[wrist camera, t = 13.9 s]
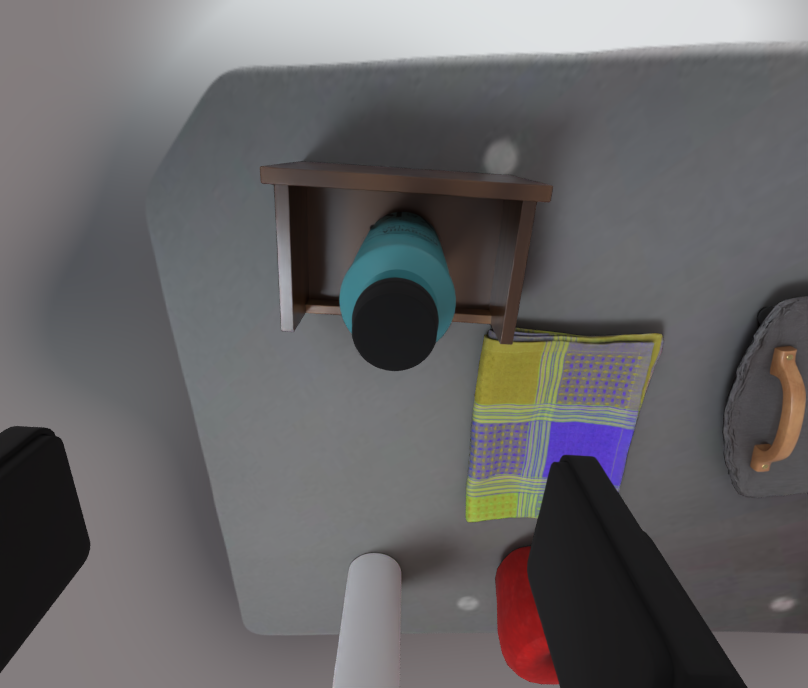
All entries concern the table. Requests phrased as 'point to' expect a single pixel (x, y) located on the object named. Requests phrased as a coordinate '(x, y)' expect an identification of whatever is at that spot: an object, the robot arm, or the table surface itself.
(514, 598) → the apple
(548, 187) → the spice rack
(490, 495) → the dish towel
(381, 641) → the spray bottle
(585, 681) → the robot arm
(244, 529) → the table surface
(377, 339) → the beverage bottle
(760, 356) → the serving tray
